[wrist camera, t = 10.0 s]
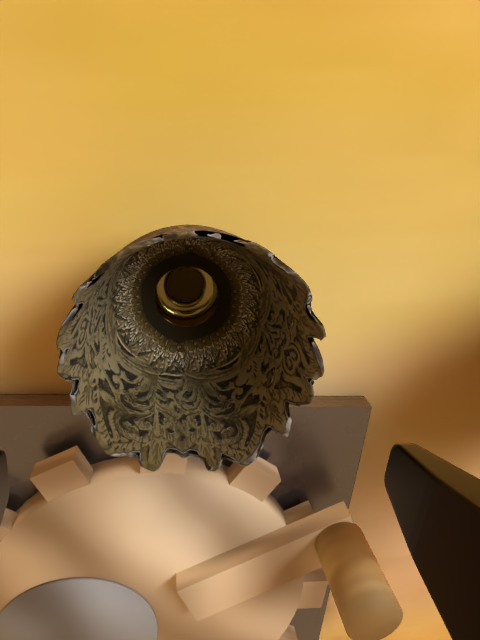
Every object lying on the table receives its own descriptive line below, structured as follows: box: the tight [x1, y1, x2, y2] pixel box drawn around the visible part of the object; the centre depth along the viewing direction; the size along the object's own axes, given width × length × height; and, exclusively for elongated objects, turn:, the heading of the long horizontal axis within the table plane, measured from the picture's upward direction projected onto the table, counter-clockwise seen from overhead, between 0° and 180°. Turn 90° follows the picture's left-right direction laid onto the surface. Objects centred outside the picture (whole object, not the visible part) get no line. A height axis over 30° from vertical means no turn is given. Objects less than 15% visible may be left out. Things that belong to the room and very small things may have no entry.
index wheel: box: [0, 446, 403, 640], centre depth 21 cm, size 20×19×6 cm
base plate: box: [0, 394, 372, 640], centre depth 25 cm, size 21×21×1 cm
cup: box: [57, 225, 326, 472], centre depth 16 cm, size 8×7×8 cm
